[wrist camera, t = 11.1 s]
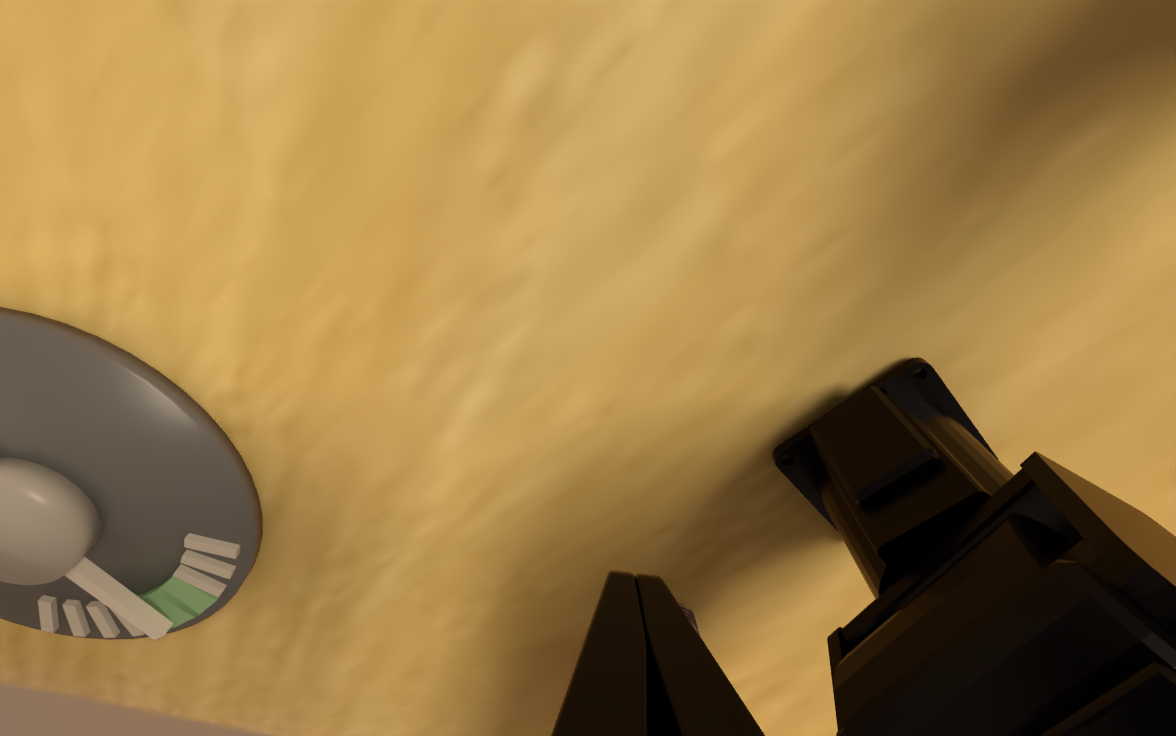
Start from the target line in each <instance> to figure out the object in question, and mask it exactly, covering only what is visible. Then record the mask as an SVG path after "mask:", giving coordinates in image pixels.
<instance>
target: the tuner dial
mask: <svg viewBox="0 0 1176 736" xmlns="http://www.w3.org/2000/svg"><path fill="white" fill-rule="evenodd" d="M0 457H9V458H17V459H22V460H27V461H31V462H34V463H37V464H40V465H42V466H45V467H47V468H50V469H52V470H54V471H55V472H57V473H59V474H61V475H63V476H64V477H66V478H67V479H69V480H70V481H72V482H73V483H74V484H76V485H77V486H78V487H79V488H80V489H81V490H82V491H83V492H84V493H85V494H86V495H87V496H88V497H89V498H90V500H91V501H92V502H93V504H94V505H95V507H96V509H97V511H98V513H99V515H100V519H101V523H102V531H101V535H100V538H99V540H98V542H97V543H96V544H95V545H94V546H93V547H92V548H91V549H90V550H89V551H88V552H87V553H86V554H85V555H84V557H86V558H87V559H88V560H90V561H91V562H92V563H94V564H95V565H96V566H98V567H99V568H100V569H102V570H103V571H104V572H106V573H107V574H108V575H110V576H111V577H112V578H114V579H115V580H116V581H118V582H119V583H120V584H122V585H123V586H124V587H126V588H127V589H128V590H130V591H131V592H132V593H134V594H135V595H136V596H138V597H139V598H140V599H142V600H143V601H144V602H146V603H147V604H148V605H150V606H151V607H152V608H154V609H155V610H157V611H158V612H159V613H161V614H162V615H163V616H165V617H166V618H167V619H169V620H170V621H171V622H173V624H172V626H171V627H170V629H169V630H168V631H167V633H171V632H175V631H178V630H181V629H184V628H187V627H189V626H192V625H194V624H196V623H198V622H200V621H202V620H204V619H206V618H208V617H210V616H211V615H213V614H214V613H215V612H217V611H218V610H219V609H221V608H222V607H223V606H224V605H225V604H226V603H227V602H228V601H229V600H230V599H231V598H232V597H233V596H234V595H235V594H236V592H237V591H238V589H239V588H240V586H241V585H242V583H243V582H244V580H245V578H246V577H247V575H248V574H249V572H250V571H251V569H252V568H253V566H254V563H255V561H256V558H257V556H258V553H259V551H260V545H261V539H262V534H263V532H262V512H261V506H260V501H259V496H258V493H257V490H256V488H255V485H254V482H253V479H252V477H251V474H250V472H249V470H248V469H247V467H246V465H245V463H244V461H243V459H242V457H241V455H240V454H239V452H238V451H237V449H236V448H235V446H234V445H233V444H232V442H231V441H230V439H229V438H228V436H227V435H226V434H225V432H224V431H223V430H222V429H221V428H220V427H219V425H218V424H217V423H216V422H215V421H214V420H213V419H212V418H211V416H210V415H209V414H208V413H207V412H206V411H205V410H204V409H203V408H202V407H201V406H200V405H199V404H198V403H197V402H195V401H194V400H193V399H192V398H191V397H190V396H189V395H188V394H187V393H186V392H185V391H184V390H182V389H181V388H180V387H178V386H177V385H176V384H174V383H173V382H172V381H170V380H169V379H168V378H167V377H165V376H164V375H163V374H161V373H160V372H159V371H157V370H156V369H154V368H153V367H151V366H149V365H148V364H146V363H145V362H143V361H141V360H140V359H138V358H137V357H135V356H133V355H132V354H130V353H129V352H127V351H125V350H123V349H121V348H119V347H117V346H115V345H113V344H111V343H109V342H107V341H105V340H103V339H101V338H99V337H97V336H95V335H92V334H90V333H87V332H85V331H82V330H80V329H77V328H75V327H73V326H70V325H68V324H65V323H62V322H58V321H55V320H52V319H48V318H45V317H42V316H39V315H35V314H32V313H27V312H22V311H17V310H12V309H7V308H2V307H0ZM0 618H2V619H4V620H7V621H10V622H14V623H17V624H20V625H24V626H27V627H31V628H34V629H39V630H41V631H46V632H52V633H57V634H62V635H69V636H76V637H84V638H97V639H135V638H144V637H149V636H148V635H146V634H145V633H144V632H142V631H141V630H139V629H138V628H137V627H135V626H134V625H132V624H131V623H130V622H128V621H127V620H126V619H124V618H123V617H121V616H120V615H119V614H117V613H116V612H114V611H113V610H112V609H110V608H109V607H107V606H106V605H105V604H103V603H102V602H101V601H99V600H98V599H96V598H95V597H94V596H92V595H91V594H89V593H88V592H87V591H85V590H84V589H83V588H81V587H80V586H78V585H77V584H76V583H74V582H73V581H71V580H70V579H69V578H67V577H66V576H62V577H61V578H59V579H57V580H55V581H53V582H49V583H46V584H39V585H18V584H11V583H6V582H1V581H0ZM167 633H166V634H167Z"/></svg>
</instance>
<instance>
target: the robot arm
mask: <svg viewBox="0 0 1176 736" xmlns="http://www.w3.org/2000/svg"><path fill="white" fill-rule="evenodd" d="M918 369H921V370H920V372H919V373H918V374H917V375H914V376H912V374H913V373H914V372H915V371H916V370H918ZM786 455H791V456H790V457H789V458H788V459H782V458H783V457H784V456H786ZM772 458H773V460H774V462H775V464H776V466H777V468H778V469H779V470H780V471H781V472H782V473H783V474H784V475H785V476H786V477H787V478H788V479H789V480H790V481H791V482H792V483H793V484H794V486H795V487H796V488H797V489H798V490H799V491H800V492H801V493H802V494H803V495H804V496H805V497H806V498H807V499H808V500H809V501H810V502H811V504H812V505H813V506H814V507H815V508H816V509H817V510H818V511H819V512H820V513H821V514H822V515H823V516H824V517H825V518H826V519H827V520H828V521H829V523H830V524H831V525H832V526H833V527H834V528H835V529H836V530H837V531H838V532H839V533H840V535H841V537H842V539H843V541H844V543H845V544H846V546H847V548H848V550H849V552H850V553H851V555H852V557H853V559H854V561H855V563H856V564H857V566H858V568H859V570H860V572H861V574H862V575H863V577H864V579H865V581H866V583H867V584H868V586H869V588H870V590H871V592H872V594H873V595H874V597H875V600H874V601H873V602H872V603H871V604H869V605H868V606H867V607H866V608H865V609H864V610H863V611H862V612H860V613H859V614H858V615H857V616H856V617H855V618H854V619H853V620H851V621H850V622H849V623H848V624H847V625H846V626H845V627H844V628H841V627H839V628H837V629H836V630H835V631H834V632H833V633H832V634H831V635H830V636H828V638H827V641H828V649H829V658H830V666H831V675H832V684H833V692H834V701H835V709H836V718H837V726H838V732H837V734H836V736H1176V537H1175V536H1174V535H1173V534H1171V533H1170V532H1169V531H1167V530H1166V529H1165V528H1163V527H1162V526H1161V525H1159V524H1158V523H1157V522H1155V521H1154V520H1153V519H1151V518H1150V517H1149V516H1147V515H1146V514H1144V513H1143V512H1141V511H1140V510H1138V509H1136V508H1134V507H1133V506H1131V505H1129V504H1127V503H1126V502H1124V501H1122V500H1120V499H1119V498H1117V497H1115V496H1113V495H1112V494H1110V493H1108V492H1106V491H1105V490H1103V489H1101V488H1099V487H1098V486H1096V485H1094V484H1092V483H1091V482H1089V481H1087V480H1085V479H1084V478H1082V477H1080V476H1078V475H1077V474H1075V473H1073V472H1071V471H1070V470H1068V469H1066V468H1064V467H1063V466H1061V465H1059V464H1057V463H1055V462H1054V461H1052V460H1050V459H1048V458H1047V457H1045V456H1043V455H1041V454H1040V453H1038V452H1036V451H1035V452H1034V453H1033V454H1032V455H1031V456H1029V457H1028V458H1027V459H1026V460H1025V461H1024V462H1023V463H1022V464H1020V466H1021V467H1022V469H1021V470H1020V471H1019V472H1018V473H1016V474H1015V475H1013V474H1012V473H1011V472H1010V471H1009V470H1008V469H1007V468H1006V467H1005V466H1004V465H1003V464H1002V463H1001V462H1000V461H999V460H998V458H997V457H996V455H995V454H994V453H993V451H992V450H991V448H990V447H989V446H988V444H987V443H986V441H985V440H984V439H983V437H982V436H981V434H980V433H979V432H978V430H977V429H976V427H975V426H974V425H973V423H972V422H971V420H970V419H969V418H968V416H967V415H966V413H965V412H964V411H963V409H962V408H961V406H960V405H959V404H958V402H957V401H956V399H955V398H954V396H953V395H952V394H951V392H950V391H949V389H948V388H947V387H946V385H945V384H944V382H943V381H942V380H941V378H940V377H939V375H938V374H937V373H936V371H935V370H934V368H933V367H932V366H931V365H930V364H929V363H927V362H926V361H925V360H924V359H922V358H918V357H917V358H912V359H909V360H907V361H906V362H904V363H903V364H901V365H900V366H898V367H897V368H895V369H894V370H892V371H891V372H889V373H888V374H886V375H885V376H883V377H882V378H880V379H879V380H877V381H876V382H874V383H873V384H871V385H870V386H868V387H867V388H865V389H864V390H862V391H860V392H859V393H857V394H856V395H854V396H853V397H851V398H850V399H848V400H847V401H845V402H844V403H842V404H841V405H839V406H838V407H836V408H835V409H833V410H832V411H830V412H829V413H827V414H826V415H824V416H823V417H821V418H820V419H818V420H817V421H815V422H814V423H812V424H811V425H809V426H808V427H806V428H805V429H803V430H802V431H800V432H799V433H797V434H796V435H794V436H793V437H791V438H790V439H788V440H787V441H785V442H784V443H782V444H781V445H779V446H778V447H777V448H776V449H774V451H773V453H772ZM551 736H765V735H764V733H763V732H762V730H761V729H760V727H759V726H758V724H757V723H756V721H755V720H754V718H753V716H752V715H751V713H750V712H749V710H748V709H747V707H746V706H745V704H744V703H743V701H742V700H741V698H740V697H739V695H738V694H737V692H736V691H735V689H734V688H733V686H732V685H731V683H730V681H729V680H728V678H727V677H726V675H725V674H724V672H723V671H722V669H721V668H720V666H719V665H718V663H717V662H716V660H715V659H714V657H713V656H712V654H711V653H710V651H709V650H708V648H707V647H706V645H705V643H704V642H703V640H702V639H701V637H700V636H699V634H698V633H697V631H696V630H695V628H694V627H693V625H692V624H691V622H690V621H689V619H688V618H687V616H686V615H685V613H684V612H683V610H682V608H681V607H680V605H679V604H678V602H677V601H676V599H675V598H674V596H673V595H672V593H671V592H670V590H669V589H668V587H667V586H666V584H665V583H664V581H663V580H662V579H661V578H660V577H659V576H656V575H647V574H636V575H635V576H634V575H633V574H632V573H630V572H621V571H610V572H609V573H608V575H607V578H606V580H605V583H604V586H603V589H602V592H601V595H600V598H599V600H598V603H597V606H596V609H595V612H594V615H593V617H592V620H591V623H590V626H589V629H588V632H587V635H586V637H585V640H584V643H583V646H582V649H581V652H580V655H579V657H578V660H577V663H576V666H575V669H574V672H573V674H572V677H571V680H570V683H569V686H568V689H567V692H566V694H565V697H564V700H563V703H562V706H561V709H560V712H559V714H558V717H557V720H556V723H555V726H554V729H553V731H552V734H551Z"/></svg>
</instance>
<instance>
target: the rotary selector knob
mask: <svg viewBox="0 0 1176 736" xmlns="http://www.w3.org/2000/svg"><path fill="white" fill-rule="evenodd" d="M101 531H102V523H101V519H100V515H99V513H98V511H97V509H96V507H95V505H94V504H93V502H92V501H91V500H90V498H89V497H88V496H87V495H86V494H85V493H84V492H83V491H82V490H81V489H80V488H79V487H78V486H77V485H76V484H74V483H73V482H72V481H70V480H69V479H67V478H66V477H64V476H63V475H61V474H59V473H57V472H55V471H54V470H52V469H50V468H47V467H45V466H42V465H40V464H37V463H34V462H31V461H27V460H22V459H17V458H9V457H0V581H1V582H6V583H11V584H18V585H39V584H46V583H49V582H53V581H55V580H57V579H59V578H61V577H62V576H66V577H67V578H69V579H70V580H71V581H73V582H74V583H76V584H77V585H78V586H80V587H81V588H83V589H84V590H85V591H87V592H88V593H89V594H91V595H92V596H94V597H95V598H96V599H98V600H99V601H101V602H102V603H103V604H105V605H106V606H107V607H109V608H110V609H112V610H113V611H114V612H116V613H117V614H119V615H120V616H121V617H123V618H124V619H126V620H127V621H128V622H130V623H131V624H132V625H134V626H135V627H137V628H138V629H139V630H141V631H142V632H144V633H145V634H146V635H148V636H149V637H150V638H152V639H153V640H156V639H158V638H160V637H162V636H164V635H165V634H166V633H167V631H168V630H169V629H170V627H171V626H172V624H173V622H171V621H170V620H169V619H167V618H166V617H165V616H163V615H162V614H161V613H159V612H158V611H157V610H155V609H154V608H152V607H151V606H150V605H148V604H147V603H146V602H144V601H143V600H142V599H140V598H139V597H138V596H136V595H135V594H134V593H132V592H131V591H130V590H128V589H127V588H126V587H124V586H123V585H122V584H120V583H119V582H118V581H116V580H115V579H114V578H112V577H111V576H110V575H108V574H107V573H106V572H104V571H103V570H102V569H100V568H99V567H98V566H96V565H95V564H94V563H92V562H91V561H90V560H88V559H87V558H86V557H84V555H85V554H86V553H87V552H88V551H89V550H90V549H91V548H92V547H93V546H94V545H95V544H96V543H97V542H98V540H99V538H100V535H101Z"/></svg>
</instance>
